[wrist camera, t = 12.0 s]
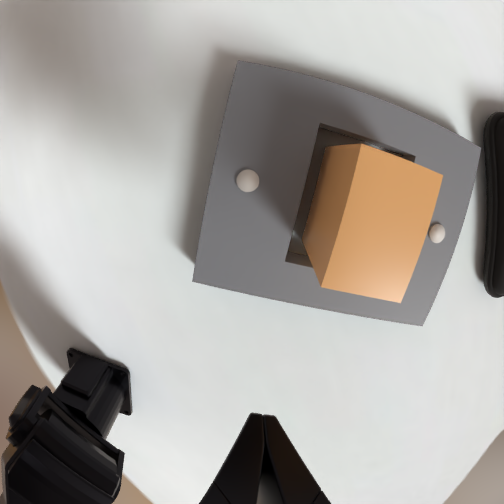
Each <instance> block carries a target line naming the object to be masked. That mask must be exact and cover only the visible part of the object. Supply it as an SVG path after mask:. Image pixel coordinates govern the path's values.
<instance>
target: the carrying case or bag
mask: <svg viewBox="0 0 504 504" xmlns="http://www.w3.org/2000/svg"><path fill="white" fill-rule="evenodd" d="M484 148H485V160H486V178H487V231H486V250H485V262H484V286H485V289H486V291H487V293H488V294H489V295H491V296H492V297H496V298H499V297H502V296H504V113H503V112H496V113H494V114H492V115H491V116H490V117H489V118H488V120H487V122H486V125H485V129H484Z"/></svg>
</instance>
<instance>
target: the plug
mask: <svg viewBox="0 0 504 504" xmlns="http://www.w3.org/2000/svg"><path fill="white" fill-rule="evenodd" d="M442 178H443V175H441V174H439V173H437V172H435V171H432V170H430V169H428V168H425V167H423V166H421V165H418V164H416V163H413V162H411V161H408V160H406V159H403V158H401V157H398V156H395V155H393V154H390V153H387V152H384V151H382V150H379V149H376V148H373V147H370V146H367V145H364V144H349V145H338V146H328V147H325V151H324V156H323V160H322V164H321V168H320V172H319V176H318V180H317V184H316V188H315V192H314V196H313V199H312V203H311V207H310V211H309V215H308V218H307V222H306V226H305V230H304V233H303V237H302V242H303V244H304V247H305V249H306V251H307V254H308V256H309V259H310V261H311V264H312V266H313V269H314V271H315V274H316V276H317V279H318V281H319V284H320V286H321V287H322V288H327V289H332V290H337V291H342V292H347V293H352V294H357V295H362V296H367V297H372V298H377V299H382V300H387V301H392V302H398V303H401V301H402V299H403V296H404V294H405V292H406V289H407V287H408V284H409V282H410V279H411V277H412V274H413V271H414V269H415V266H416V263H417V261H418V258H419V255H420V252H421V249H422V247H423V244H424V241H425V238H426V235H427V231H428V228H429V225H430V222H431V219H432V215H433V212H434V209H435V205H436V201H437V198H438V194H439V190H440V186H441V182H442Z"/></svg>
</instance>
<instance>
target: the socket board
mask: <svg viewBox="0 0 504 504" xmlns="http://www.w3.org/2000/svg"><path fill="white" fill-rule="evenodd" d="M318 128H323V129H326V130H330V131H333V132H336V133H340V134H343V135H346V136H349V137H352V138H355V139H358V140H361V141H364V142H367V143H370V144H373V145H376V146H379V147H382V148H384V149H387V150H390V151H392V152H395V153H398V154H400V155H402V156H401V158H403V159H406V160H408V161H411V162H413V163H416V164H418V165H421V166H423V167H425V168H428V169H430V170H432V171H435V172H437V173H439V174H441V175H443V178H442V182H441V186H440V190H439V194H438V198H437V201H436V205H435V209H434V212H433V215H432V219H431V222H430V225H429V228H428V231H427V235H426V238H425V241H424V244H423V247H422V249H421V252H420V255H419V258H418V261H417V263H416V266H415V269H414V271H413V274H412V277H411V279H410V282H409V284H408V287H407V289H406V292H405V294H404V296H403V299H402V301H401V303H398V302H392V301H387V300H382V299H377V298H372V297H367V296H362V295H357V294H352V293H347V292H342V291H337V290H332V289H327V288H322V287H321V286H320V284H319V281H318V279H317V276H316V274H315V271H314V269H313V266H312V264H311V261H310V259H309V256H304V255H300V254H295V253H291V252H287V251H288V247H289V244H290V240H291V236H292V232H293V229H294V225H295V221H296V217H297V213H298V210H299V206H300V202H301V198H302V194H303V190H304V186H305V182H306V178H307V174H308V170H309V166H310V162H311V158H312V154H313V149H314V145H315V141H316V137H317V133H318ZM480 152H481V147H479V146H477V145H476V144H474V143H472V142H470V141H469V140H467V139H465V138H463V137H462V136H460V135H458V134H456V133H454V132H452V131H450V130H449V129H447V128H445V127H443V126H441V125H439V124H437V123H435V122H433V121H431V120H429V119H426V118H424V117H422V116H420V115H418V114H416V113H413V112H411V111H409V110H407V109H404V108H402V107H400V106H397V105H395V104H392V103H390V102H388V101H385V100H382V99H380V98H377V97H375V96H372V95H369V94H366V93H364V92H361V91H358V90H355V89H352V88H349V87H346V86H343V85H340V84H337V83H333V82H330V81H327V80H323V79H320V78H316V77H313V76H309V75H305V74H301V73H297V72H293V71H289V70H285V69H280V68H276V67H271V66H266V65H261V64H256V63H250V62H244V61H238V62H237V66H236V70H235V73H234V77H233V81H232V85H231V89H230V93H229V97H228V102H227V106H226V110H225V114H224V119H223V123H222V127H221V132H220V136H219V141H218V145H217V150H216V155H215V159H214V164H213V169H212V174H211V179H210V184H209V189H208V194H207V199H206V205H205V210H204V215H203V221H202V226H201V232H200V238H199V244H198V249H197V255H196V262H195V268H194V274H193V281H192V282H196V283H201V284H205V285H209V286H214V287H218V288H222V289H227V290H231V291H236V292H240V293H245V294H249V295H254V296H259V297H263V298H268V299H273V300H278V301H283V302H288V303H293V304H298V305H303V306H308V307H313V308H318V309H323V310H329V311H334V312H339V313H345V314H350V315H356V316H362V317H368V318H373V319H379V320H385V321H391V322H398V323H404V324H410V325H417V326H423V324H424V322H425V320H426V318H427V316H428V313H429V311H430V309H431V307H432V305H433V302H434V300H435V298H436V296H437V293H438V291H439V289H440V286H441V284H442V281H443V279H444V276H445V274H446V271H447V269H448V266H449V264H450V261H451V258H452V255H453V253H454V250H455V247H456V244H457V241H458V238H459V235H460V232H461V229H462V226H463V222H464V219H465V216H466V212H467V209H468V205H469V201H470V197H471V194H472V190H473V185H474V181H475V177H476V172H477V168H478V163H479V158H480Z"/></svg>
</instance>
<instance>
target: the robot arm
mask: <svg viewBox="0 0 504 504" xmlns="http://www.w3.org/2000/svg"><path fill="white" fill-rule="evenodd" d="M67 357H68V362H69V367H70V370H69V371H68V372H67V374H66V375H65V376H64V378H63V379H62V380H61V383H60V385H59V386H58V387H57V389H56V390H55V391H54V393H52V392H51V390H50V389H49V388H48V387H47V386H45V387H43V388H42V389H40V388H38V387H36V386H34V385H32V386H30V388H29V389H28V390H27V391H26V392H25V394H24V395H23V396H22V398H21V399H20V401H19V402H18V403H17V405H16V406H15V408H14V410H13V411H12V413H11V414H10V416H9V423H10V427H9V429H8V433H7V435H6V439H7V440H8V441H9V442H10V444H9V446H8V447H7V448H6V450H5V451H4V453H3V454H2V485H3V493H2V494H1V496H0V504H112V503H113V502H114V500H115V499H116V497H117V495H118V493H119V491H120V487H121V479H122V470H123V462H124V454H125V453H124V452H123V451H121V450H120V449H117V448H116V447H114V446H113V445H112V444H110V443H109V442H108V441H106V438H107V436H108V434H109V432H110V430H111V428H112V426H113V424H114V422H115V420H116V418H117V415H118V413H122V414H125V415H131V413H132V400H131V383H130V372H129V371H128V370H127V369H126V368H123V367H120V366H117V365H114V364H112V363H109V362H106V361H103V360H100V359H98V358H95V357H92V356H90V355H87V354H85V353H82V352H80V351H77V350H75V349H72V348H70V349H69V350H68V351H67ZM124 373H125V374H124ZM199 504H331V503H330V501H329V500H328V498H327V497H326V496H325V494H324V492H323V491H321V488H320V487H319V485H318V484H317V482H316V481H315V479H314V477H313V476H312V474H311V473H310V471H309V470H308V468H307V467H306V465H305V464H304V462H303V460H302V459H301V457H300V456H299V454H298V452H297V451H296V449H295V448H294V446H293V444H292V443H291V441H290V439H289V438H288V436H287V435H286V433H285V431H284V430H283V428H282V426H281V425H280V423H279V421H278V420H277V418H276V417H275V416H273V415H262V414H258V413H250V415H249V417H248V418H247V420H246V422H245V424H244V426H243V428H242V430H241V432H240V434H239V436H238V438H237V439H236V441H235V443H234V445H233V447H232V449H231V451H230V452H229V454H228V456H227V458H226V460H225V461H224V463H223V465H222V467H221V469H220V470H219V472H218V474H217V476H216V477H215V479H214V481H213V483H212V484H211V486H210V487H209V489H208V491H207V492H206V494H205V495H204V497H203V498H202V500H201V501H200V503H199Z"/></svg>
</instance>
